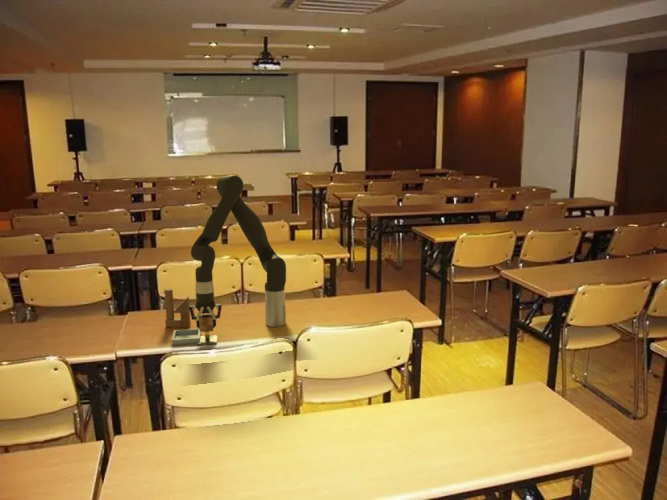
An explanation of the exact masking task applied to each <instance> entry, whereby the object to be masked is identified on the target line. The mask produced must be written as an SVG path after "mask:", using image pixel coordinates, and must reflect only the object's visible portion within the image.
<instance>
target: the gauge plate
mask: <svg viewBox="0 0 667 500" xmlns="http://www.w3.org/2000/svg"><path fill="white" fill-rule="evenodd" d="M217 344H218V335H216V334H214V335H211V334H210V331H207V332H204V335H201V336H200V341H198V344H197V346H198V347H199V346H200V347H201V346H210V345H211V346H213V345H217Z"/></svg>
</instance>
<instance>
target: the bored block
mask: <svg viewBox="0 0 667 500" xmlns="http://www.w3.org/2000/svg"><path fill="white" fill-rule="evenodd" d="M199 327H200V332H201V333H203V332H204V333H205V332H207V331H209V332H214V328H213V317H212V316H211V315H210V313H209V314H207V313H205V314H201V316H200V317H199Z"/></svg>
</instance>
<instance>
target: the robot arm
mask: <svg viewBox="0 0 667 500" xmlns="http://www.w3.org/2000/svg"><path fill="white" fill-rule="evenodd" d="M216 190H217V192H218V194H219V196H220V197H221V199H220V201H219V202H218V204H217V206H216V207H215V209H214V210H213V211H212V212H211V214H210V216H209V217H208V219H207V220H206V223H205V225H204V227H203V230H202V232H201V234H200V235H199V236H198V238H197V239H196V241H194V243H193V244H192V247H191V248H190V249H191V250H190V255H191V258H192V259H193V260H195V261H199V262H201V264H200V265H199V266H197V267H196V268H195V274H194V275H195V301H196V303H195V304H189V310H190V319H191V320H192V321H196V322H195V323H196V329H200V327H199V317H200V316H201V314H210V315H211V316H212V317H213V329H214V328H216V327H217V319H220V318H221V315H222V314H221V312H222V303H216V302H215V288H214V287H215V286H214V280H213V279H214V277H213V269H214V266H215V262H216V250H215V249H214V247H212V246H211V245H210V244H211V243H216V242H218V240H219V238H220V235H221V232H222V230H223V228H224V225H225V223H226V220H227V218H228V217H229V214H230V213H232V215H233V217H234V219H235V221H236V222H237V224H238V225H239V227H240V229H241V231H242V233H243V235H244V236H245V238H246V239H247V241H248V242H249V243H250V246H251V247H252V248H253V249H254V251H255V253H256V255H257V257H258V259H259V261H260V264H261V267H262V268H263V270H264V271H265V272H266V282H265V283H264V308H265V313H264V314H265V315H264V316H265V325H266V326H267V327H270V328H276V327H277V328H279V327H284V326H286V325H287V321H286V315H287V312H286V310H287V309H286V302H285V301H286V300H285V299H286V296H285V294H286V292H285V289H286V288H285V287H286V286H285V285H286V283H287V264H286V262H285V260H284V258H282V257H280V256H279V255H278V254H277V253H276V252H275V250H274V249H273V247H272V246H271V244H270V243H269V240H268V239H269V238H268V236H267V233H266V229H265V227H264V225H263V223H262V221H261V219H260V218H259V216H258V215H257V213H256V212H255V211H254V210H253V209H251V207H250V206H248V204H246V203H245V201H244V200H243V198H242V197H241V194H242V192H243V190H244V182H243V179H242V178H241V177H240V176H238V175H234V174H231V175H224V176H221V177H219V178H218V179H217V181H216ZM215 308H216V310H217V314H215V312H214V309H215ZM195 309H197V310H198V313H197V315H195V312H194V311H195Z"/></svg>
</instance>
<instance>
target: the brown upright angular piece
mask: <svg viewBox="0 0 667 500" xmlns="http://www.w3.org/2000/svg"><path fill="white" fill-rule="evenodd" d="M173 292H174V291H173V289H172V288H165V289H164V303H165V317H166V319H165V323H164V324H165V328H183V329H185V328H187V329H189V327H190V326H191V314H190V310H189V306H190V297H189V296H187V297H186V298H185V299H184V300H183V301H182V302H181V303H180V304H179V306H177V307H176V308H175V306H174V294H173ZM175 314H180V315H179V316H180V317H175Z"/></svg>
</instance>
